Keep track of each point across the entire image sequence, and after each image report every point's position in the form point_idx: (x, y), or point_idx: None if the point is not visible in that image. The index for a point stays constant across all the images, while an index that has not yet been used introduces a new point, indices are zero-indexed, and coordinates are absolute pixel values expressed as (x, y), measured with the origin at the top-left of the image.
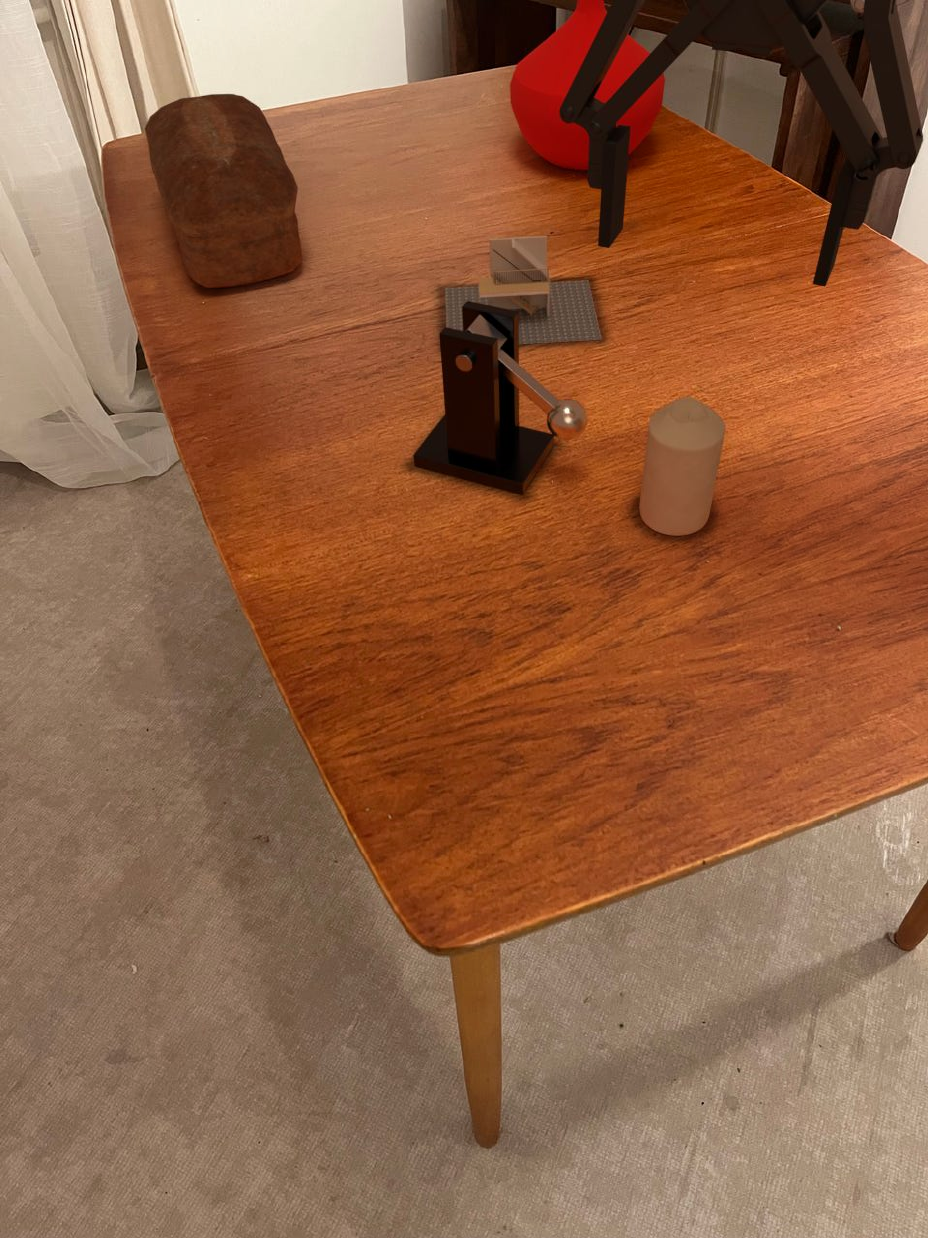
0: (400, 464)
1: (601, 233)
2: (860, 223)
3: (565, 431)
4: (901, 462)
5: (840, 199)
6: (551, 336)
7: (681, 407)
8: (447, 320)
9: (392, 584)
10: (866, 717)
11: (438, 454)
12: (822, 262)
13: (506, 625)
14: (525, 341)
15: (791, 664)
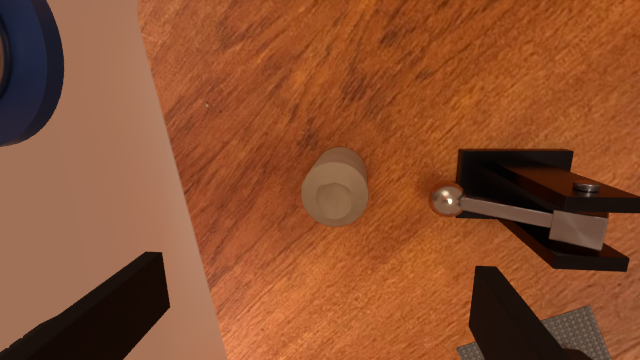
0: (579, 146)
1: (500, 278)
2: (47, 321)
3: (443, 181)
4: (215, 273)
5: (34, 339)
6: None
7: (343, 208)
8: (602, 341)
9: (532, 2)
10: (170, 33)
11: (549, 159)
12: (133, 269)
13: (422, 2)
14: None
15: (223, 58)
